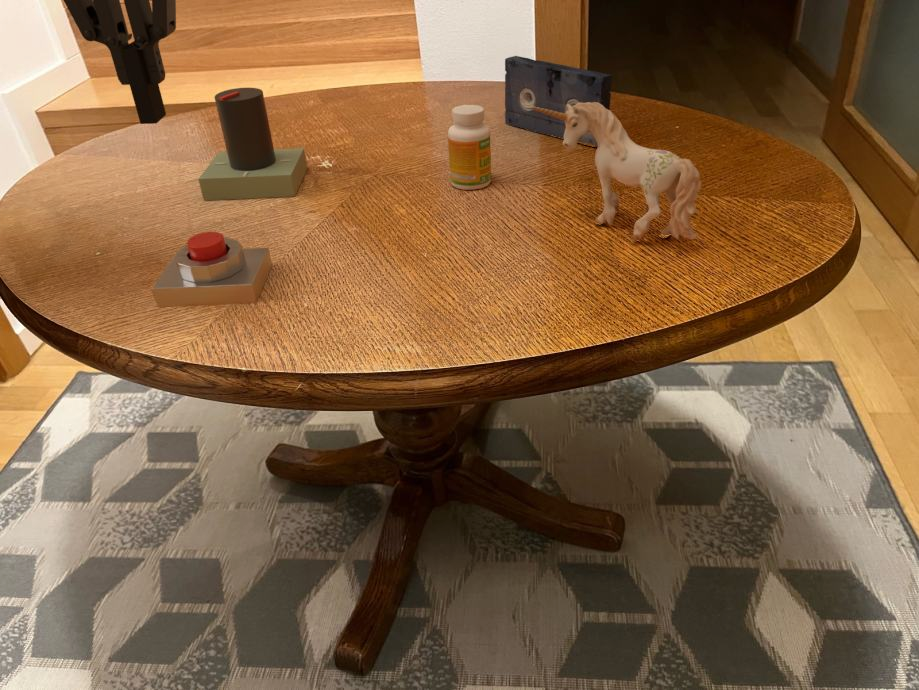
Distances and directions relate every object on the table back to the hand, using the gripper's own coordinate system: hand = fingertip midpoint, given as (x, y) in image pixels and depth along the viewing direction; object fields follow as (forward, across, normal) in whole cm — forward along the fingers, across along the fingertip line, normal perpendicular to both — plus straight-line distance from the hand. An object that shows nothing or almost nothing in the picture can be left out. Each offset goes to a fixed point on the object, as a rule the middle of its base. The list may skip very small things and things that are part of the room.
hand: (153, 118), depth 68 cm
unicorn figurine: (+17, +45, +6) cm, 48 cm away
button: (+13, +3, -2) cm, 14 cm away
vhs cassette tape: (+17, +42, +41) cm, 62 cm away
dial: (+14, +1, +26) cm, 30 cm away
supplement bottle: (+17, +30, +23) cm, 41 cm away
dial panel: (+17, +1, +26) cm, 31 cm away
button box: (+17, +3, -2) cm, 17 cm away
